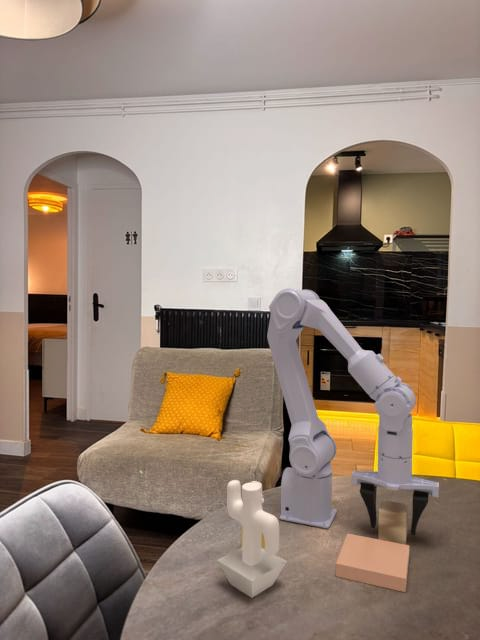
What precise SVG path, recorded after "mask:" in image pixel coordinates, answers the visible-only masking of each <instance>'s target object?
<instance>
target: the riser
mask: <svg viewBox="0 0 480 640" xmlns="http://www.w3.org/2000/svg"><path fill="white" fill-rule="evenodd" d="M340 549H341V550H340V552H339V554H338V557H337V559H336V562H335V563H336V564H335V577H337V578H341V579H344V580H345V579H346V580H349V581H355V582H360V583H363V584H368V585H372V586H376V587H379V588H380V587H381V588H386V589H390V590H393V591H399V592H403V593H406V592H407V582H408V574H409V573H408V571H409V561H410V545H409V544H406V545H404V544H399V543H394V542H389V541H384V540H379V539H378V538H373V537H368V536H361V535H357V534H352V533H347V534H346V536H345V539H344V541H343V544H342V547H341V548H340Z"/></svg>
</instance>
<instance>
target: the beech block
mask: <svg viewBox="0 0 480 640" xmlns="http://www.w3.org/2000/svg"><path fill="white" fill-rule="evenodd" d="M408 509H409V504H408V503H404V502H398V501H391V500H384V499H381V502H380V505H379V508H378V537H377V539H379V540H384V541H389V542H394V543H399V544H404V545H407V537H408V514H409V512H408Z"/></svg>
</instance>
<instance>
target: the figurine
mask: <svg viewBox="0 0 480 640" xmlns="http://www.w3.org/2000/svg"><path fill="white" fill-rule="evenodd" d="M226 485H227V487H226V509H227V514H228V516H229V517H230V518H232V519H234V520H235V521H237V522H240V523H241V526H242V527H243V545H242V548H241V547H239V548H238V549H236V550H234V551H232V552H230V553H228V554H226V555H224V556H222V557H220V558H218V559H217V560H216V562H218V565H219V567H220V568H221V570H222V571H223V574H224V576H225V577H226V579H227V580H228V582H229V584H230V585H231V586H232V587H234V588H235V589H237V590H238V591H240V592H241V593H243V594H245V595H246V596H248V597H250V598H251V599H252V598H254V597H256V596H258V595H259V594H261V593H262V592H264V591H266V590H267V589H268V588H271V587H272V586H273V585H274V583H275V581H276V580H277V579H278V577H279V576H280V573H281V572H282V570H283V568H284V566H285V565H286V563H287V560H286V559H283V558H282V557H280V556H278V555H277V554H278V553H279V551H280V523H279V518H277V517H276V516H275V515H273V514H271V513H270V512H266V511H264V510H263V503H264V502H265V499H264V494H263V485H262V483H261V482H260V481H255V480H252V481H251V482H246V483H243V484H242V485H241V482H240V481H239V480H238V479H232V480H230V481H229V482H228V483H227V484H226ZM262 533H263V535H264V540H265V549H263V548H261V537H262Z"/></svg>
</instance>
